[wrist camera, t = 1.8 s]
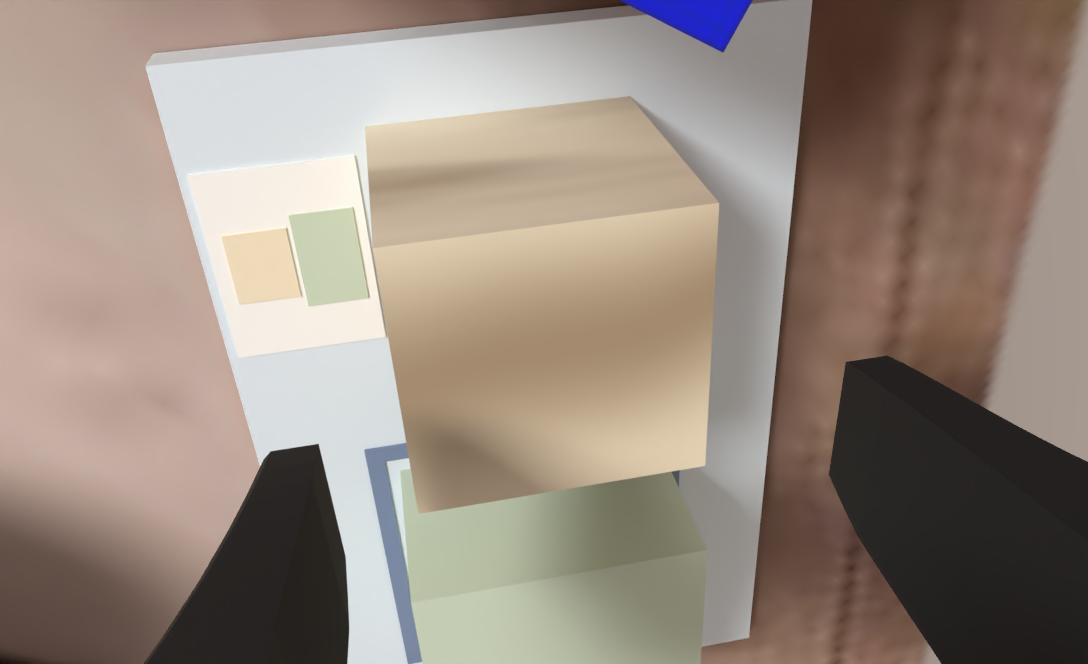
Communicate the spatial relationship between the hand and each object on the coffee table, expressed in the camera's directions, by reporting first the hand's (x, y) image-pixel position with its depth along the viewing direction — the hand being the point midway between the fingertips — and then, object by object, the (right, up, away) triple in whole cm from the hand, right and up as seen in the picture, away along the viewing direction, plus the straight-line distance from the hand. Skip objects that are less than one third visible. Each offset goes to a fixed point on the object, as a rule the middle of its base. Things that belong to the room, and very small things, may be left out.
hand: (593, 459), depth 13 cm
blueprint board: (-1, 0, +9) cm, 9 cm away
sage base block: (-1, -4, +11) cm, 11 cm away
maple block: (-1, +4, +6) cm, 7 cm away
